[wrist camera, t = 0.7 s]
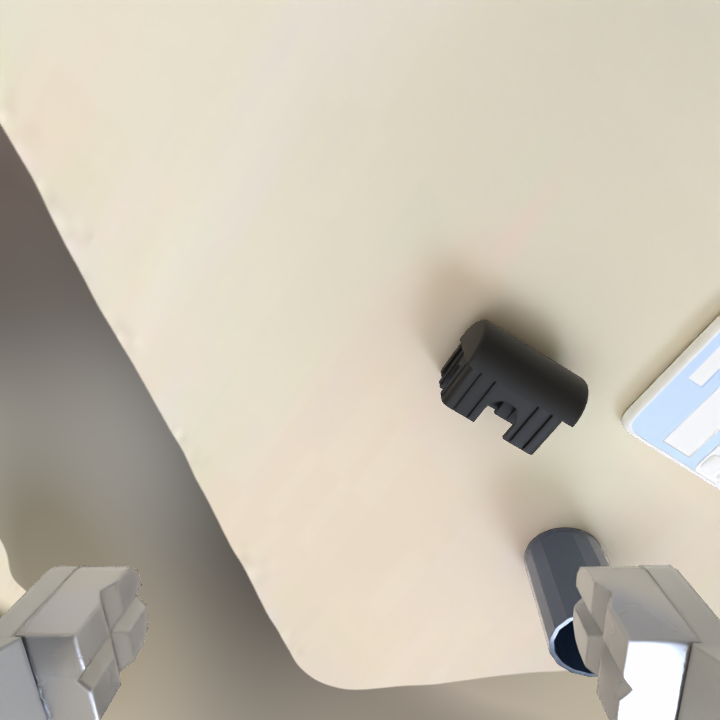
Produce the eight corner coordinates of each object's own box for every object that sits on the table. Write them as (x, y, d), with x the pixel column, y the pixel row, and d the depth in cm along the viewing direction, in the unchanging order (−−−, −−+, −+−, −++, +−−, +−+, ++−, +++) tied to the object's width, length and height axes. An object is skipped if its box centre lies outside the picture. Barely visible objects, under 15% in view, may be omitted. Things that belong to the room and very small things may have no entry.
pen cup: (560, 514, 48) (595, 596, 38) (619, 553, 49) (667, 642, 39) (508, 561, 50) (529, 647, 41) (565, 596, 51) (598, 689, 42)
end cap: (573, 364, 42) (601, 398, 35) (523, 423, 44) (541, 464, 38) (479, 307, 41) (491, 331, 34) (433, 370, 43) (437, 404, 37)
